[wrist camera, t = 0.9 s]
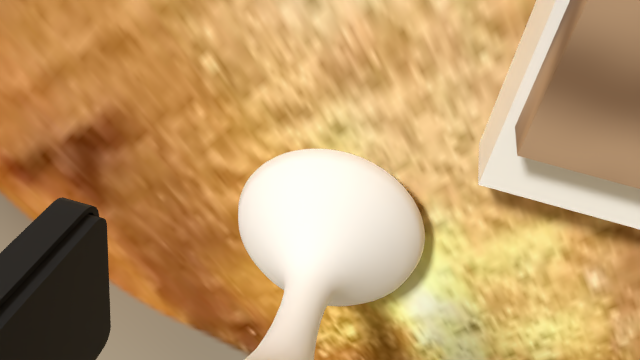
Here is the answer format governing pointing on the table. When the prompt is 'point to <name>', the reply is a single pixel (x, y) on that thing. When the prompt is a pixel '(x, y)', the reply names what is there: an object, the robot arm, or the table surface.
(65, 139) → the table surface
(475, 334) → the table surface
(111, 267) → the table surface
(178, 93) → the table surface
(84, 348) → the robot arm
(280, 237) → the flower in vase
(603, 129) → the walnut block
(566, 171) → the flat white rectangular box
